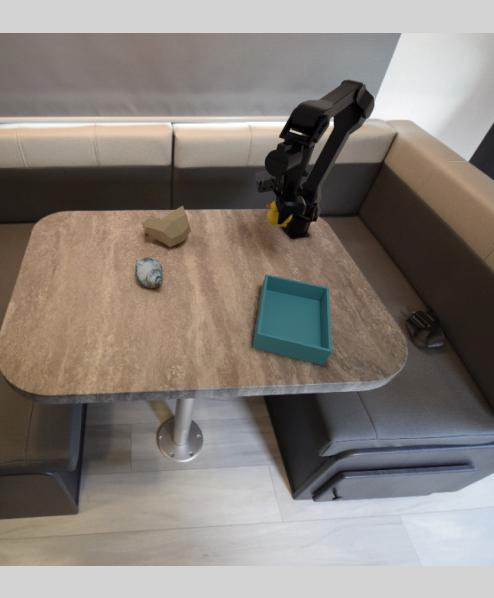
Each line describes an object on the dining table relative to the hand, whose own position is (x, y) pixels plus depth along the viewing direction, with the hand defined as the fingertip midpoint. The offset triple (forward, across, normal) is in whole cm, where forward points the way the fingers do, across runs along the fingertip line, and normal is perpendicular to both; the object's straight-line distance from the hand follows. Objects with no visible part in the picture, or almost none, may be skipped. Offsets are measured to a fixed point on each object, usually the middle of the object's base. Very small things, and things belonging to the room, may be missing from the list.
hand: (278, 219), depth 95 cm
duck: (+1, 0, 0) cm, 1 cm away
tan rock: (+11, -1, -30) cm, 32 cm away
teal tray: (+11, +27, +2) cm, 30 cm away
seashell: (+12, +17, -33) cm, 39 cm away
